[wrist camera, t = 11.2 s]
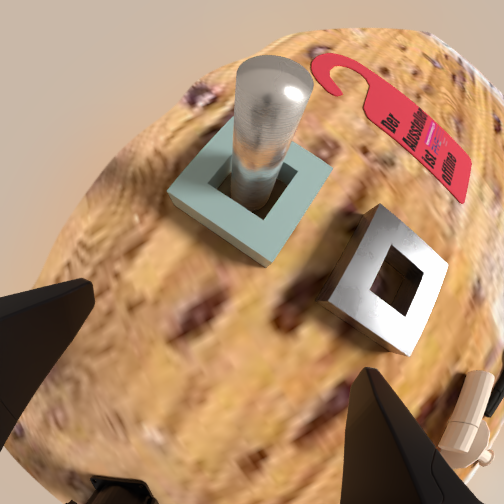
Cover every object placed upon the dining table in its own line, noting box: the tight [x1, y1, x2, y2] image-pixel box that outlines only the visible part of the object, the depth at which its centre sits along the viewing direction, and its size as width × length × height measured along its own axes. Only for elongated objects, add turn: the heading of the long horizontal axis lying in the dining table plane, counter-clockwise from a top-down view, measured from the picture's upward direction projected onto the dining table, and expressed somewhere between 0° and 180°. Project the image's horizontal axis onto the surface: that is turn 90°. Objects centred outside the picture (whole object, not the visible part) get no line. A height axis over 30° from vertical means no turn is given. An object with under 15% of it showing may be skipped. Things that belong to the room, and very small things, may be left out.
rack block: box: [167, 116, 333, 268], centre depth 21 cm, size 9×9×3 cm
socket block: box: [315, 204, 448, 357], centre depth 20 cm, size 9×9×3 cm
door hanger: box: [311, 53, 472, 204], centre depth 26 cm, size 9×1×25 cm
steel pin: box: [231, 55, 314, 211], centre depth 16 cm, size 3×3×13 cm
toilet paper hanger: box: [438, 370, 495, 469], centre depth 18 cm, size 21×11×7 cm, turn 51°
